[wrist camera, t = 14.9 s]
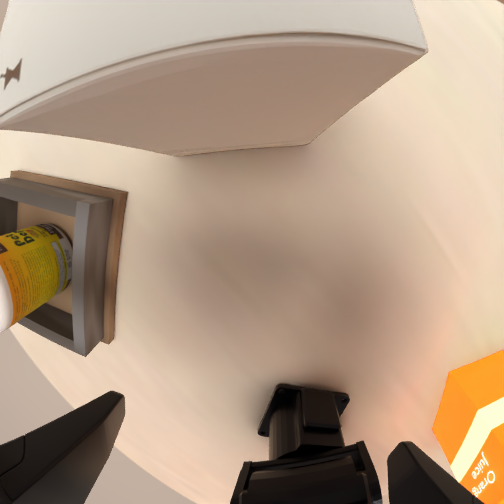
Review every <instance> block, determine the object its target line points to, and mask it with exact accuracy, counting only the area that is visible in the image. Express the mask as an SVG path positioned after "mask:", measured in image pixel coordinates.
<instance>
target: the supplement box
mask: <svg viewBox="0 0 504 504" xmlns="http://www.w3.org/2000/svg"><path fill="white" fill-rule="evenodd" d="M426 53H428V46H427V43H426V39H425V36H424V33H423V30H422V27H421V24H420V21H419V18H418V14H417V11H416V9H415V6H414V3H413V0H9V3H8V10H7V13H6V16H5V19H4V23H3V26H2V30H1V33H0V129H1V130H14V131H26V132H36V133H44V134H53V135H61V136H68V137H75V138H81V139H88V140H94V141H100V142H106V143H111V144H117V145H122V146H127V147H132V148H138V149H143V150H148V151H153V152H157V153H162V154H167V155H171V156H185V155H192V154H200V153H208V152H217V151H227V150H238V149H250V148H265V147H281V146H297V145H306V144H309V143H310V142H311V141H313V140H314V139H315V138H316V137H317V136H318V135H320V134H321V133H322V132H323V131H325V130H326V129H327V128H328V127H329V126H331V125H332V124H333V123H334V122H335V121H337V120H338V119H339V118H340V117H342V116H343V115H344V114H345V113H347V112H348V111H349V110H350V109H352V108H353V107H354V106H356V105H357V104H358V103H359V102H361V101H362V100H363V99H365V98H366V97H368V96H369V95H370V94H372V93H373V92H374V91H376V90H377V89H378V88H379V87H381V86H382V85H383V84H385V83H386V82H387V81H389V80H390V79H391V78H393V77H394V76H395V75H397V74H398V73H400V72H401V71H402V70H404V69H405V68H407V67H408V66H409V65H411V64H412V63H414V62H415V61H417V60H418V59H419V58H421V57H422V56H423V55H425V54H426Z"/></svg>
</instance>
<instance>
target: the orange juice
mask: <svg viewBox="0 0 504 504" xmlns="http://www.w3.org/2000/svg"><path fill="white" fill-rule="evenodd" d="M432 430H433V432H434V434H435V436H436V438H437V440H438V441H439V443H440V445H441V447H442V449H443V451H444V453H445V455H446V457H447V459H448V461H449V463H450V465H451V466H450V467H451V469H452V471H453V473H454V475H455V477H456V479H457V481H458V482H459V483H460V484H462V485H463V486H464V487H465V488H466V489H468V490H469V491H470V492H471V493H472V494H474V495H475V496H476V497H477V498H478V499H480V500H481V501H482V502H484V503H485V504H504V352H503V351H502V350H501V351H499V352H497V353H495V354H492V355H490V356H488V357H485V358H483V359H481V360H478V361H476V362H473V363H471V364H468V365H466V366H463V367H460V368H458V369H455V370H452V371H450V372H449V374H448V378H447V382H446V386H445V389H444V393H443V396H442V400H441V403H440V406H439V410H438V413H437V416H436V419H435V422H434V425H433V428H432Z"/></svg>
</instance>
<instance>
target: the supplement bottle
mask: <svg viewBox="0 0 504 504" xmlns="http://www.w3.org/2000/svg"><path fill="white" fill-rule="evenodd" d="M72 255H73V249H72V247H71V244H70V242H69V240H68V239H67V237H66V236H65V234H64V233H63V232H62V231H61V230H60V229H59V228H57V227H55V226H53V225H51V224H39V225H35V226H31V227H28V228H25V229H21V230H18V231H15V232H11V233H8V234H5V235H1V236H0V332H3V331H5V330H6V329H8V328H9V327H11V326H12V325H14V324H15V323H16V322H18V321H19V320H21V319H22V318H23V317H25V316H26V315H28V314H29V313H31V312H32V311H34V310H35V309H37V308H38V307H40V306H41V305H43V304H44V303H46V302H47V301H49V300H50V299H52V298H53V297H55V296H56V295H58V294H59V293H61V292H62V291H64V290H65V289H66V288H67V287H68V286H69V285H70V283H71V282H72Z"/></svg>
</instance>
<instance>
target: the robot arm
mask: <svg viewBox="0 0 504 504" xmlns="http://www.w3.org/2000/svg"><path fill="white" fill-rule="evenodd" d="M279 390H283V391H279ZM342 399H344V400H342ZM349 400H350V399H349V395H348V394H345V393H337V392H329V391H321V390H315V389H308V388H302V387H296V386H290V385H284V384H280V385H277V386H276V387H275V390H274V392H273V395H272V397H271V400H270V402H269V404H268V407H267V409H266V411H265V414H264V416H263V419H262V421H261V423H260V425H259V428H258V435H260V436H265V437H269V461H260V462H252V461H249V462H244V464H243V467H242V470H241V471H240V474H239V477H238V480H237V483H236V486H235V489H234V492H233V495H232V498H231V501H230V504H382V494H381V488H380V484H379V480H378V476H377V473H376V470H375V468H374V465H373V463H372V460H371V458H370V455H369V453H368V450H367V448H366V446H365V443H364V441H360V442H356V444H353V445H349V446H345V443H344V439H343V435H342V430H341V427H342V426H341V422H340V416H341V414H342V413H343V411H344V409H345V408H346V406H347V404H348V403H349ZM124 416H125V397H124V395H123V394H121V393H118V392H115V391H109V392H107V393H106V394H104V395H102V396H100V397H98V398H96V399H94V400H92V401H91V402H89V403H87V404H85V405H83V406H81V407H79V408H77V409H75V410H73V411H71V412H69V413H68V414H66V415H64V416H62V417H60V418H58V419H56V420H54V421H52V422H50V423H48V424H46V425H44V426H42V427H40V428H37V429H35V430H33V431H31V432H29V433H27V434H25V436H24V435H23V436H21V437H18V438H16V439H14V440H11V441H9V442H7V443H4V444H2V445H0V504H84V503H85V500H86V499H87V497H88V495H89V493H90V491H91V489H92V487H93V485H94V484H95V482H96V480H97V478H98V476H99V474H100V472H101V470H102V469H103V467H104V465H105V463H106V461H107V460H108V458H109V456H110V453H111V451H112V448H113V445H114V443H115V440H116V437H117V435H118V432H119V430H120V427H121V425H122V422H123V419H124ZM387 466H388V491H389V502H390V504H485V503H484V502H482V501H481V500H480V499H478V498H477V497H476V496H475V495H474V494H472V493H471V492H470V491H469V490H468V489H466V488H465V487H464V486H463V485H462V484H460V483H459V482H458V481H457V480H455V479H454V478H453V477H452V476H451V475H450V474H448V473H447V472H446V471H445V470H444V469H443V468H441V467H440V466H439V465H438V464H437V463H436V462H434V461H433V460H432V459H431V458H430V457H429V456H428V455H426V454H425V453H424V452H423V451H422V450H421V449H420V448H418V447H417V446H416V445H415V444H414V443H413V442H411V441H404V442H400V443H399V444H398V445H397V446H396V448H395V449H394V450H393V451H392V452H391V454H390V455H389V456H388V460H387Z"/></svg>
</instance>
